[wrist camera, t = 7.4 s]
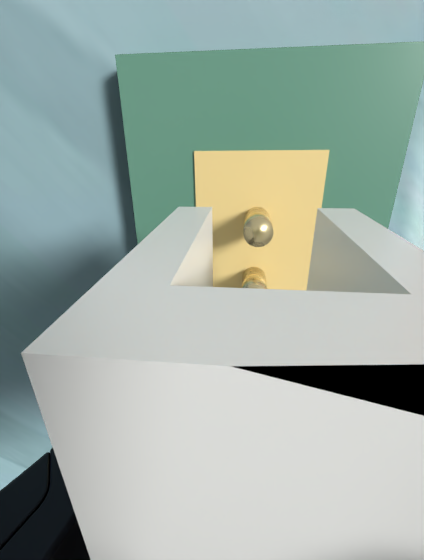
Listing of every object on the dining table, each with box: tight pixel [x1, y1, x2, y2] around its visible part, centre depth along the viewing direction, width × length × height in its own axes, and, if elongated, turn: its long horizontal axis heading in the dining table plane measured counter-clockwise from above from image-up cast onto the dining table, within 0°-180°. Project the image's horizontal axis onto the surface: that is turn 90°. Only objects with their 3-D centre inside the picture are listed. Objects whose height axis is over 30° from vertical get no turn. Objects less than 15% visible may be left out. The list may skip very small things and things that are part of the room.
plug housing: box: [21, 207, 424, 560], centre depth 6 cm, size 8×4×6 cm, turn 0°
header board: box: [115, 41, 424, 290], centre depth 13 cm, size 16×10×3 cm, turn 1°
